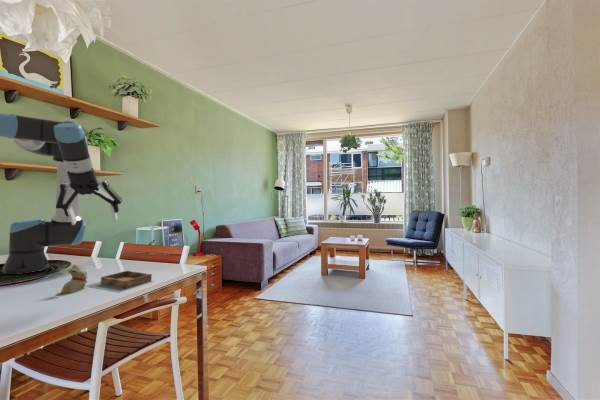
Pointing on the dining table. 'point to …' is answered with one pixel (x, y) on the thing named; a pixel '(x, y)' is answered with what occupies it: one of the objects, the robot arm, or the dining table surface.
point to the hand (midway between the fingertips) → (95, 221)
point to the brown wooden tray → (126, 279)
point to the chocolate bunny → (75, 281)
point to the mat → (111, 287)
